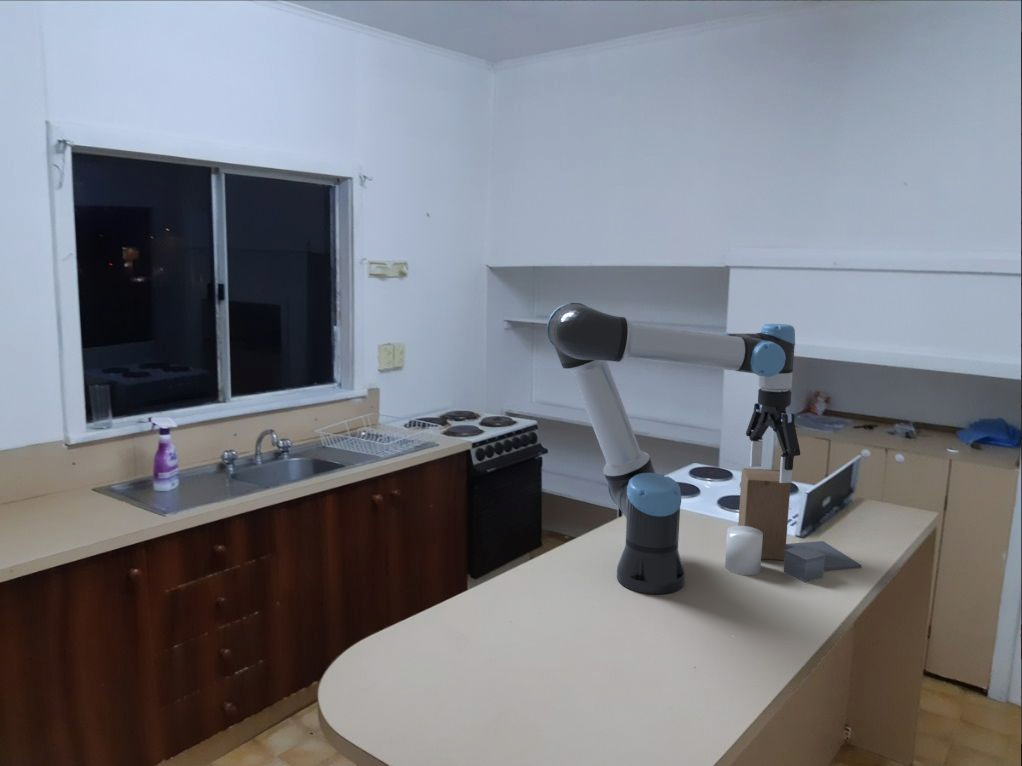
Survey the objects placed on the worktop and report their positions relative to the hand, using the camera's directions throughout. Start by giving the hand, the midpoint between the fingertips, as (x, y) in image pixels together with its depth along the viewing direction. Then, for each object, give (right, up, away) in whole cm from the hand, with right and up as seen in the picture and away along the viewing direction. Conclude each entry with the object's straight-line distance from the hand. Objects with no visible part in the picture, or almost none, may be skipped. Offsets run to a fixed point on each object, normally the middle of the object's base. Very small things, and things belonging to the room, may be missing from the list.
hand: (769, 474), depth 181 cm
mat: (+12, -20, +1) cm, 24 cm away
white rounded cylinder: (-9, -21, -6) cm, 24 cm away
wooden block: (-1, -20, +4) cm, 20 cm away
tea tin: (+4, -22, -10) cm, 25 cm away
